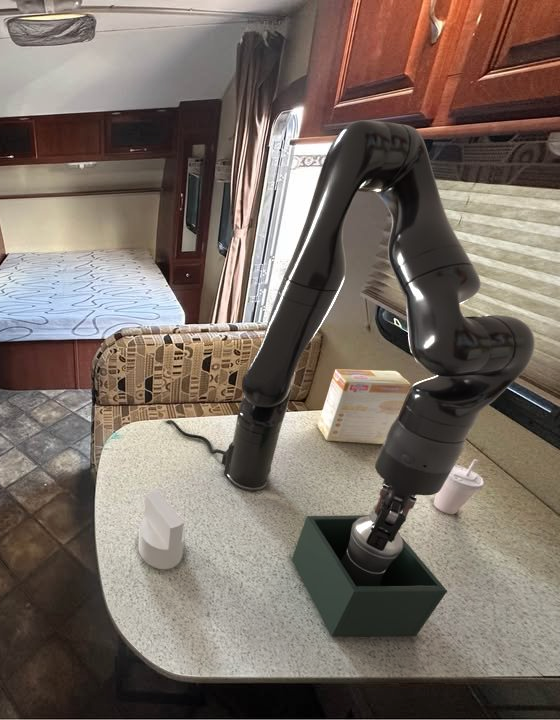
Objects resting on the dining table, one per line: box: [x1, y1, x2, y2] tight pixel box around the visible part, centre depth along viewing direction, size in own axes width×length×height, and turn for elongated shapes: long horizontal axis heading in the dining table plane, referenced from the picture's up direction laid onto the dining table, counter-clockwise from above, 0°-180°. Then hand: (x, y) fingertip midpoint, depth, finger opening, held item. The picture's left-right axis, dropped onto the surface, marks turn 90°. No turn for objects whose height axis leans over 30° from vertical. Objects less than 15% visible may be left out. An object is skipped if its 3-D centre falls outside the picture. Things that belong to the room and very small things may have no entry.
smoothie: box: [433, 458, 485, 515], centre depth 79 cm, size 6×6×14 cm
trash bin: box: [291, 514, 448, 638], centre depth 64 cm, size 14×14×13 cm
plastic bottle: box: [340, 504, 403, 587], centre depth 62 cm, size 6×7×20 cm
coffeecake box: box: [317, 368, 412, 445], centre depth 100 cm, size 15×7×20 cm, turn 80°
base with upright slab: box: [138, 489, 186, 570], centre depth 74 cm, size 9×9×12 cm
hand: (378, 532), depth 59 cm, fingers closed on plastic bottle, 6 cm apart
